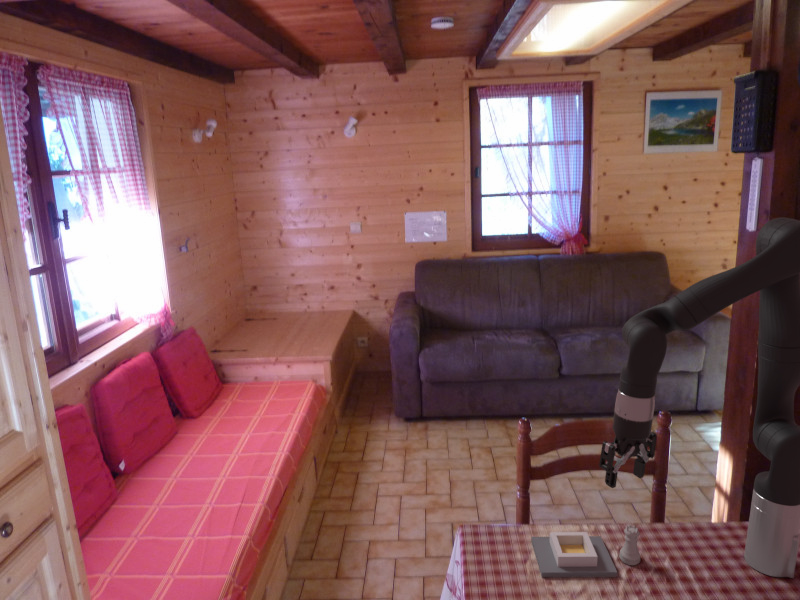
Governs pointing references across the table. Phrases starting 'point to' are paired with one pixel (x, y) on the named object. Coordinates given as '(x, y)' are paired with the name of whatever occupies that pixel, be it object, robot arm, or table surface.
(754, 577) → the table surface
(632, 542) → the rook chess piece
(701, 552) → the table surface
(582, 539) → the square frame on plate
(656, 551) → the table surface
